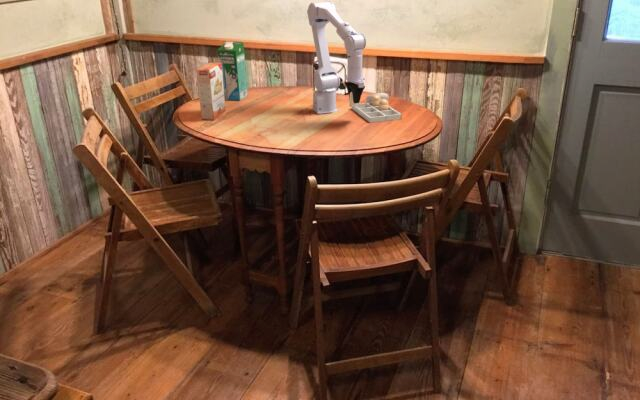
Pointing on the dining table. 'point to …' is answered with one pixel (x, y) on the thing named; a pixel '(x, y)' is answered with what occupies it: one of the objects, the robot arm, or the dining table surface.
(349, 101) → the cream egg
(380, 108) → the brown egg
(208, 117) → the cracker box
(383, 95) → the donut
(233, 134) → the dining table surface
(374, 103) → the brown egg
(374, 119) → the egg carton
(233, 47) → the milk carton
